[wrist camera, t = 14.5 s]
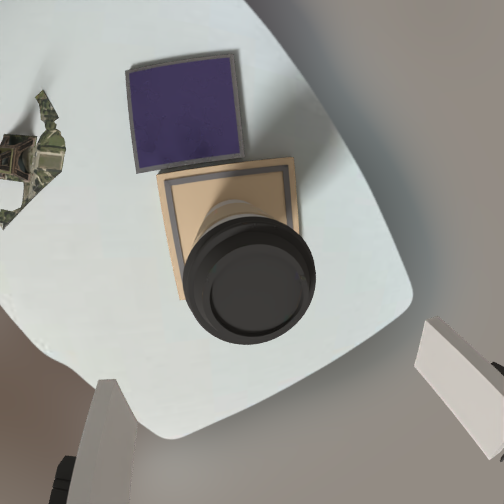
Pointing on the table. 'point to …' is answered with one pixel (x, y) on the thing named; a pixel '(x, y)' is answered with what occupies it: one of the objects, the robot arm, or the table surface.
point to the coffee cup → (247, 274)
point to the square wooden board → (222, 199)
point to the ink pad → (184, 112)
